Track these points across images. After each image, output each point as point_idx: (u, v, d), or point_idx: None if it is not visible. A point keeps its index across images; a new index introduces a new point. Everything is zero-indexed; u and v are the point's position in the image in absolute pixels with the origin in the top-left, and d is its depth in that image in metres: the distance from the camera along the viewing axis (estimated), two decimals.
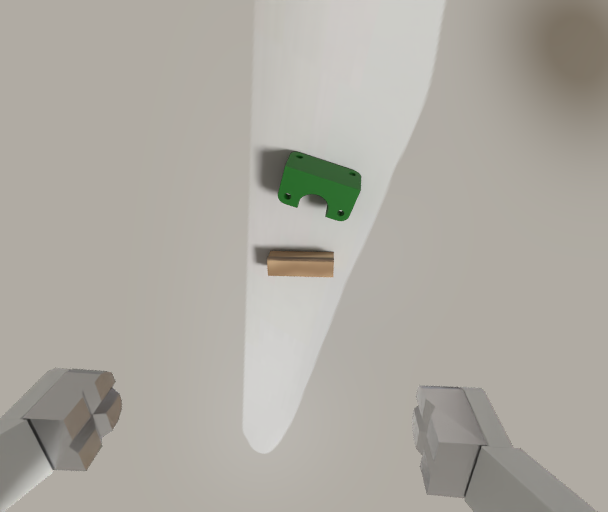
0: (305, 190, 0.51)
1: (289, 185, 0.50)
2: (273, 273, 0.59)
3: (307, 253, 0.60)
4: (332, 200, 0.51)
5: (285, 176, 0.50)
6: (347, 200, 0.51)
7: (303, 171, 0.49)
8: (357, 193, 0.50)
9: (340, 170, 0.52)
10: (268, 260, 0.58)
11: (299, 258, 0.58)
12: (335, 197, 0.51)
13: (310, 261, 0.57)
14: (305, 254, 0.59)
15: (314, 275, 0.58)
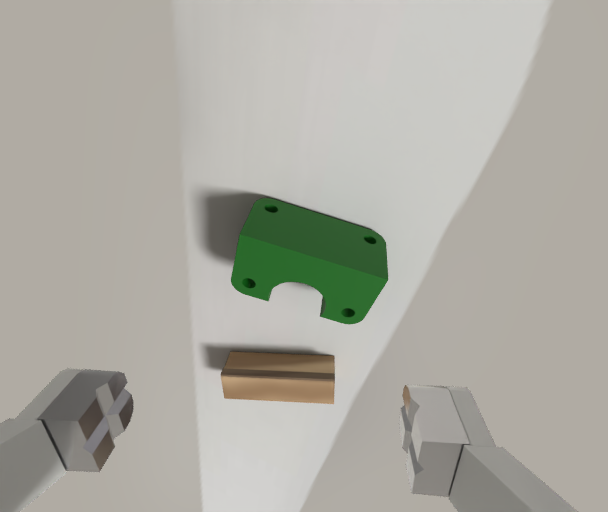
0: (281, 275, 0.27)
1: (250, 266, 0.26)
2: (234, 396, 0.35)
3: (290, 359, 0.36)
4: (333, 293, 0.27)
5: (241, 251, 0.26)
6: (361, 294, 0.27)
7: (276, 244, 0.25)
8: (381, 284, 0.26)
9: (348, 232, 0.28)
10: (223, 377, 0.34)
11: (276, 374, 0.34)
12: (338, 288, 0.27)
13: (294, 380, 0.33)
14: (286, 361, 0.36)
15: (302, 400, 0.34)
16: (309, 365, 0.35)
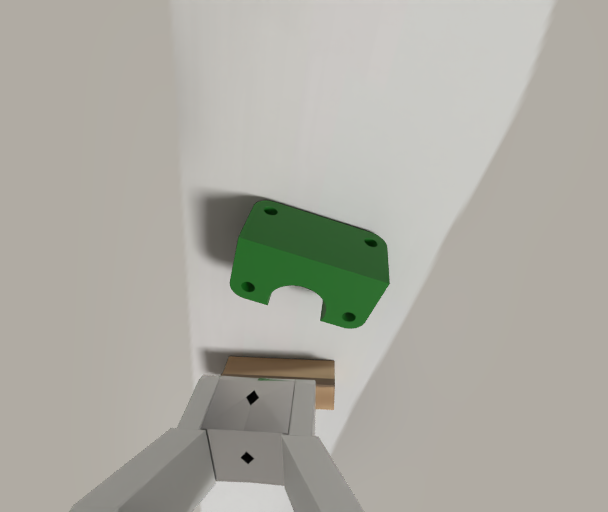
0: (281, 278, 0.26)
1: (250, 270, 0.26)
2: None
3: (290, 364, 0.35)
4: (333, 297, 0.26)
5: (240, 255, 0.25)
6: (362, 298, 0.26)
7: (276, 247, 0.24)
8: (382, 288, 0.25)
9: (348, 235, 0.28)
10: None
11: None
12: (339, 292, 0.26)
13: None
14: (286, 366, 0.35)
15: None
16: (309, 370, 0.35)
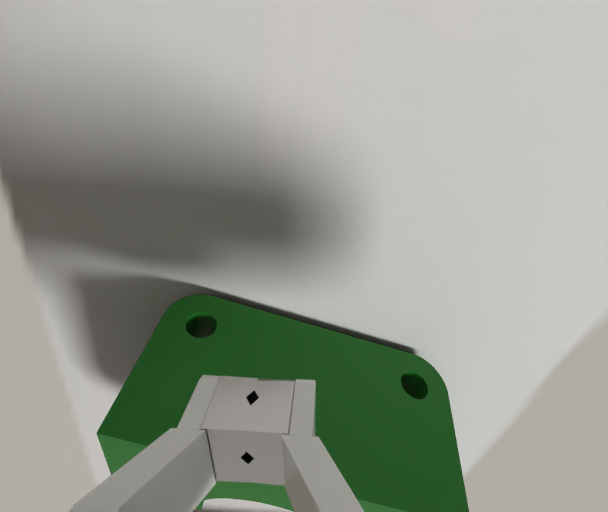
0: (218, 491, 0.12)
1: None
2: None
3: None
4: None
5: (116, 455, 0.11)
6: None
7: None
8: None
9: (368, 371, 0.13)
10: None
11: None
12: None
13: None
14: None
15: None
16: None
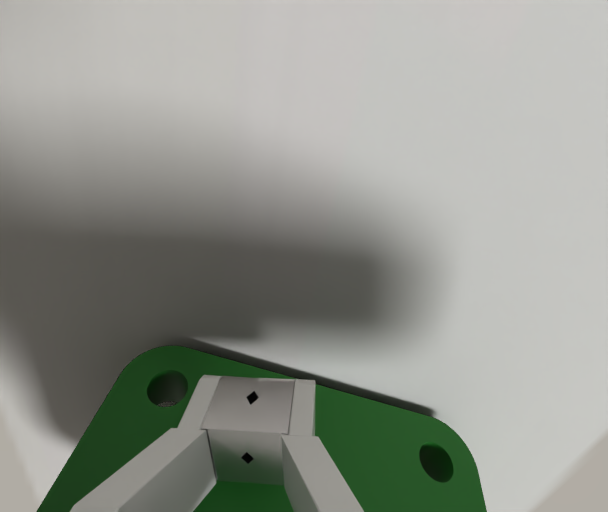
0: None
1: None
2: None
3: None
4: None
5: None
6: None
7: None
8: None
9: (378, 445, 0.10)
10: None
11: None
12: None
13: None
14: None
15: None
16: None
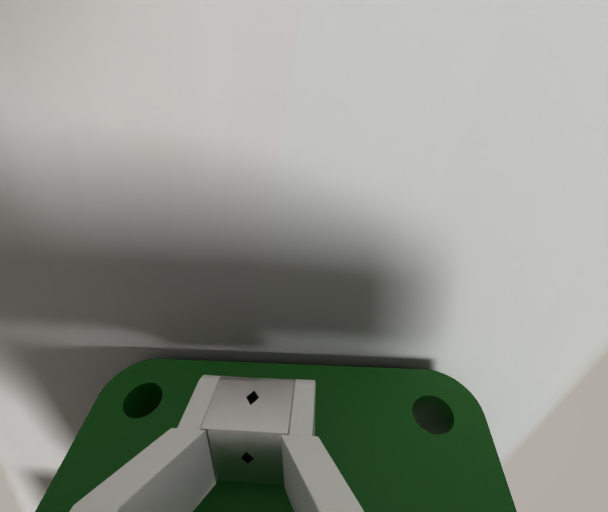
0: None
1: None
2: None
3: None
4: None
5: None
6: None
7: None
8: None
9: (364, 410, 0.10)
10: None
11: None
12: None
13: None
14: None
15: None
16: None
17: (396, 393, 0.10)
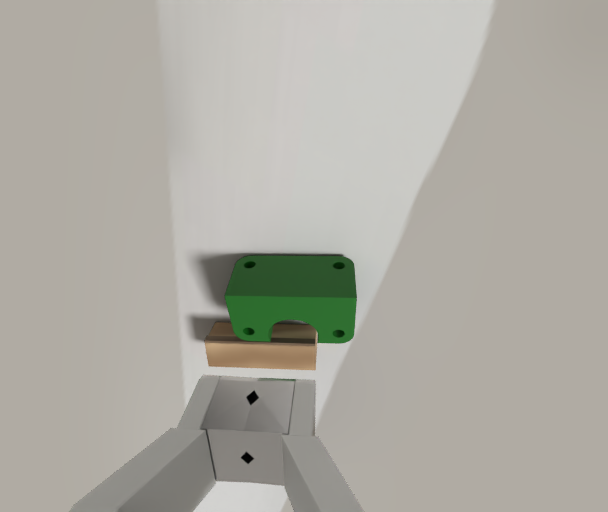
0: (270, 318, 0.31)
1: (244, 318, 0.31)
2: (218, 363, 0.36)
3: (274, 328, 0.37)
4: (318, 320, 0.31)
5: (232, 308, 0.31)
6: (341, 315, 0.30)
7: (256, 295, 0.29)
8: (353, 303, 0.29)
9: (318, 265, 0.32)
10: (207, 343, 0.35)
11: None
12: (321, 316, 0.30)
13: (276, 346, 0.34)
14: None
15: (284, 367, 0.35)
16: (291, 333, 0.36)
17: (329, 261, 0.33)
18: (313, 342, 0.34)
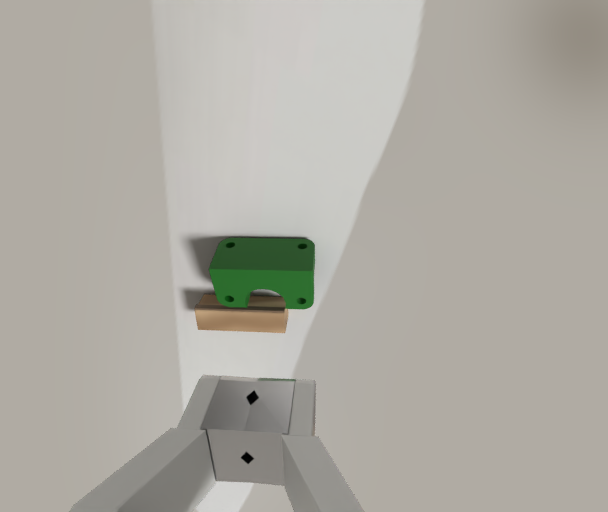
0: (246, 287, 0.39)
1: (225, 287, 0.39)
2: (205, 327, 0.44)
3: (252, 299, 0.44)
4: (284, 290, 0.38)
5: (215, 279, 0.38)
6: (302, 285, 0.38)
7: (233, 268, 0.37)
8: (310, 275, 0.37)
9: (286, 245, 0.40)
10: (196, 310, 0.43)
11: (238, 308, 0.42)
12: (286, 286, 0.38)
13: (253, 312, 0.42)
14: None
15: (259, 330, 0.43)
16: (266, 303, 0.44)
17: (294, 243, 0.40)
18: (282, 310, 0.42)
